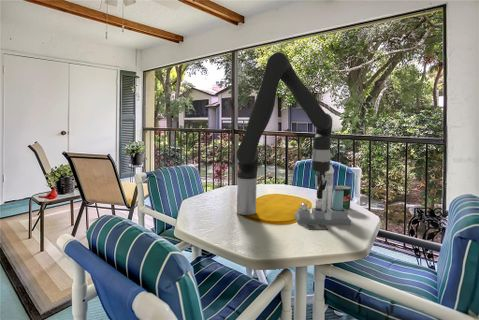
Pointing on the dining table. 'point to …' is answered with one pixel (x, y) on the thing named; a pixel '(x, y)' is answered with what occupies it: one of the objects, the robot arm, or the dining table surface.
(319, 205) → the plunger
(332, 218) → the filter housing
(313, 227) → the rubber mat
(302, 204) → the plunger
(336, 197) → the blue capsule with label
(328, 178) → the water bottle
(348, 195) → the canned tomato
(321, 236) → the dining table surface
